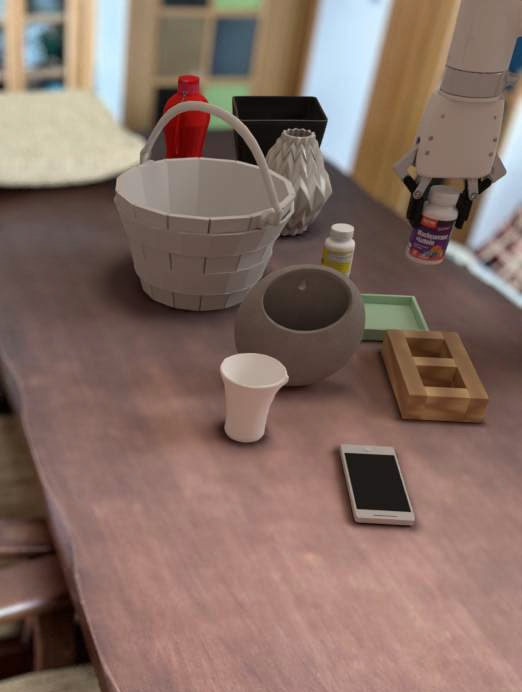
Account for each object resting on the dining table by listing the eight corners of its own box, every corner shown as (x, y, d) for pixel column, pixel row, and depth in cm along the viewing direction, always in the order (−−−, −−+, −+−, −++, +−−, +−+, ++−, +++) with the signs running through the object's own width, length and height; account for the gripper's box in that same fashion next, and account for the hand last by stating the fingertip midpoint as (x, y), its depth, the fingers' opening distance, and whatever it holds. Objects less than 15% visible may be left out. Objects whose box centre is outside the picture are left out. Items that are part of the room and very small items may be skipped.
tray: (411, 306, 144) (414, 295, 143) (427, 343, 134) (430, 331, 133) (312, 301, 145) (314, 291, 144) (320, 337, 135) (323, 326, 134)
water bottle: (151, 210, 177) (156, 80, 160) (168, 194, 184) (175, 68, 168) (191, 217, 174) (201, 86, 157) (207, 200, 182) (218, 73, 165)
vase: (238, 238, 166) (249, 140, 154) (254, 210, 178) (265, 117, 165) (319, 249, 162) (336, 149, 150) (329, 220, 174) (347, 125, 162)
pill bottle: (405, 262, 118) (426, 193, 112) (404, 248, 122) (424, 180, 116) (443, 268, 117) (467, 199, 111) (441, 254, 121) (463, 186, 115)
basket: (198, 235, 167) (211, 69, 147) (328, 299, 146) (364, 115, 126) (72, 272, 153) (68, 94, 133) (196, 348, 132) (213, 150, 112)
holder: (450, 355, 132) (457, 332, 129) (480, 422, 117) (489, 398, 114) (380, 351, 132) (386, 328, 129) (402, 418, 118) (409, 394, 115)
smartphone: (392, 451, 111) (393, 445, 111) (414, 526, 100) (416, 520, 99) (338, 448, 112) (340, 443, 111) (354, 522, 100) (356, 516, 100)
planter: (229, 395, 122) (243, 273, 109) (226, 370, 127) (240, 252, 114) (354, 399, 121) (383, 278, 109) (347, 374, 126) (374, 256, 114)
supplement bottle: (324, 271, 155) (333, 219, 148) (351, 278, 153) (363, 225, 146) (313, 282, 151) (323, 229, 145) (342, 289, 149) (353, 235, 143)
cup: (265, 457, 110) (276, 392, 104) (202, 437, 114) (208, 373, 107) (288, 425, 116) (300, 362, 109) (228, 406, 119) (235, 344, 113)
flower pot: (229, 200, 182) (237, 117, 171) (224, 172, 196) (231, 94, 185) (315, 202, 181) (329, 120, 170) (304, 174, 196) (316, 96, 184)
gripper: (531, 76, 107) (488, 217, 119) (398, 74, 108) (369, 213, 120) (550, 91, 101) (503, 237, 113) (410, 88, 102) (378, 233, 114)
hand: (434, 223), depth 116 cm, fingers closed on pill bottle, 5 cm apart
